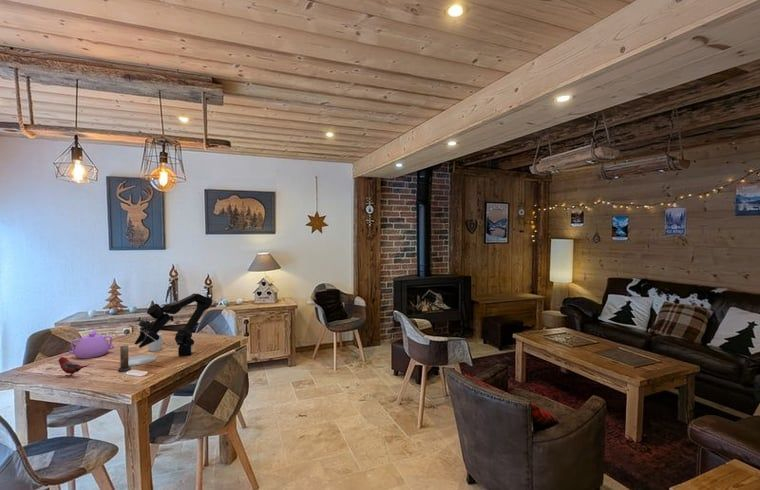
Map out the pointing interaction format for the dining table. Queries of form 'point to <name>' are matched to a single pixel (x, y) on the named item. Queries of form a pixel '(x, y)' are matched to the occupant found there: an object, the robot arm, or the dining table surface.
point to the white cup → (156, 344)
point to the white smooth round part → (140, 360)
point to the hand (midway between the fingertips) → (137, 345)
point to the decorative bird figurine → (69, 366)
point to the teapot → (91, 346)
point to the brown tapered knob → (124, 359)
